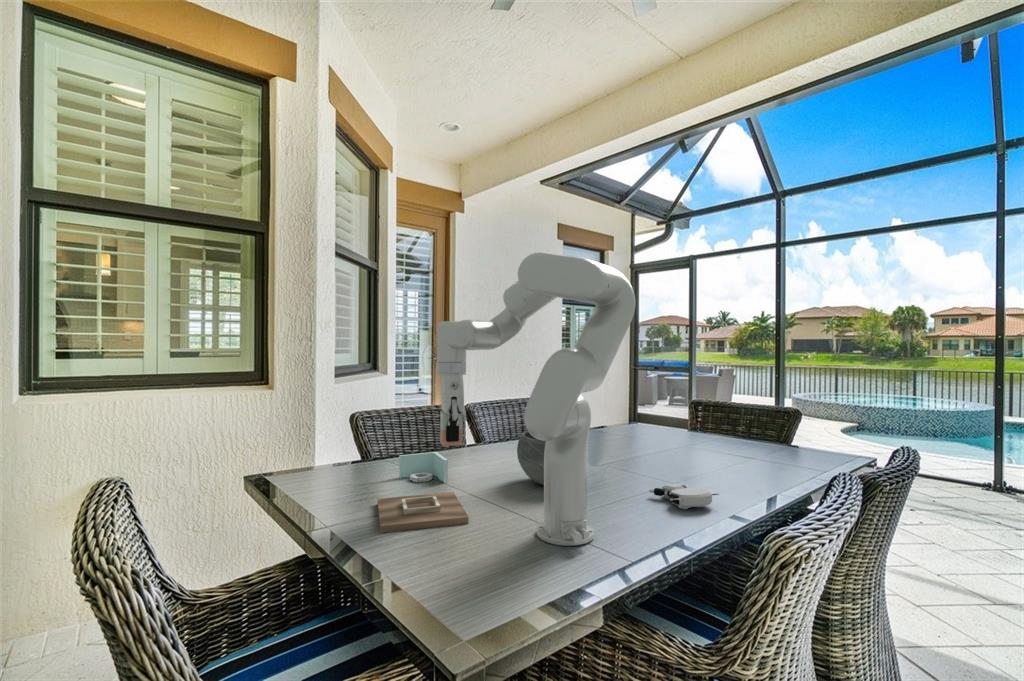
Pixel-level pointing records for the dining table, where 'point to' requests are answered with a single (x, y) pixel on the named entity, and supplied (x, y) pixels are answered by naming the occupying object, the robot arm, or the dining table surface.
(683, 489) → the robot toy
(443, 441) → the stack block
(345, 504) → the dining table surface
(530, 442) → the bowl
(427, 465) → the right angle wall
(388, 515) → the walnut board
